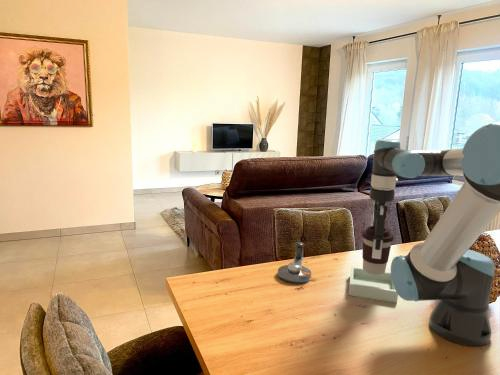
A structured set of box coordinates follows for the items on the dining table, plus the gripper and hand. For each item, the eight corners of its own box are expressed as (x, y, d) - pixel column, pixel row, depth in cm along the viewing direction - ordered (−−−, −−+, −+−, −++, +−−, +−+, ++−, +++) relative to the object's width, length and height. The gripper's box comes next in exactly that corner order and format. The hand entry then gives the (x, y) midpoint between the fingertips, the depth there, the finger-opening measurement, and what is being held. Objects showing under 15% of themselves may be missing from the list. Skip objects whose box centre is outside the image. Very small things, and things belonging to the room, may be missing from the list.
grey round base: (314, 287, 128) (314, 281, 128) (274, 280, 132) (274, 275, 132) (318, 273, 140) (318, 268, 139) (281, 267, 143) (281, 262, 143)
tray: (397, 302, 120) (398, 291, 119) (348, 295, 124) (349, 284, 123) (393, 282, 134) (394, 272, 133) (350, 276, 138) (351, 266, 137)
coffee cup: (355, 272, 125) (360, 230, 122) (361, 262, 134) (366, 222, 131) (386, 279, 121) (392, 235, 118) (391, 268, 130) (396, 227, 126)
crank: (300, 274, 133) (301, 255, 131) (286, 272, 134) (287, 253, 132) (305, 260, 145) (307, 243, 144) (293, 258, 146) (294, 241, 145)
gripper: (398, 196, 110) (389, 267, 114) (392, 182, 131) (385, 242, 136) (371, 193, 112) (364, 263, 117) (370, 180, 133) (364, 240, 138)
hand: (375, 252), depth 126 cm, fingers closed on coffee cup, 10 cm apart
